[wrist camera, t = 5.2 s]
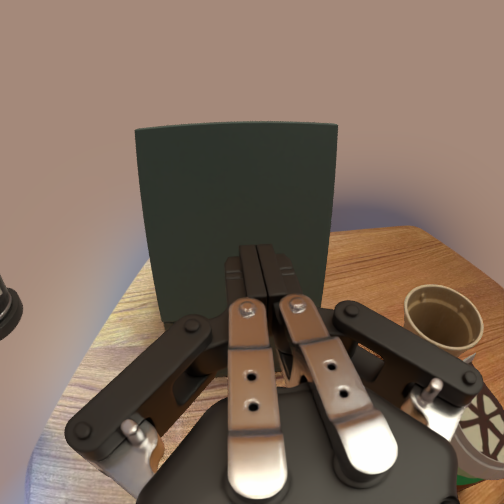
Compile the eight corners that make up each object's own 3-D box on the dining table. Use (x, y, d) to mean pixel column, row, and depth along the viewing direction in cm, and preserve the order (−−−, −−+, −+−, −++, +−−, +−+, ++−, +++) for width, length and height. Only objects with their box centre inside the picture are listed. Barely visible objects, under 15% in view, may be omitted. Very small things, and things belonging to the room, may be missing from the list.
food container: (380, 424, 26) (420, 367, 21) (428, 407, 27) (472, 348, 21) (420, 526, 16) (485, 499, 10) (470, 498, 17) (536, 458, 11)
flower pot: (407, 411, 27) (443, 363, 22) (366, 350, 34) (387, 295, 30) (462, 379, 29) (497, 329, 24) (422, 328, 37) (446, 276, 32)
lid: (136, 128, 19) (134, 129, 19) (334, 123, 21) (338, 124, 20) (162, 316, 26) (161, 322, 26) (317, 305, 28) (320, 310, 27)
